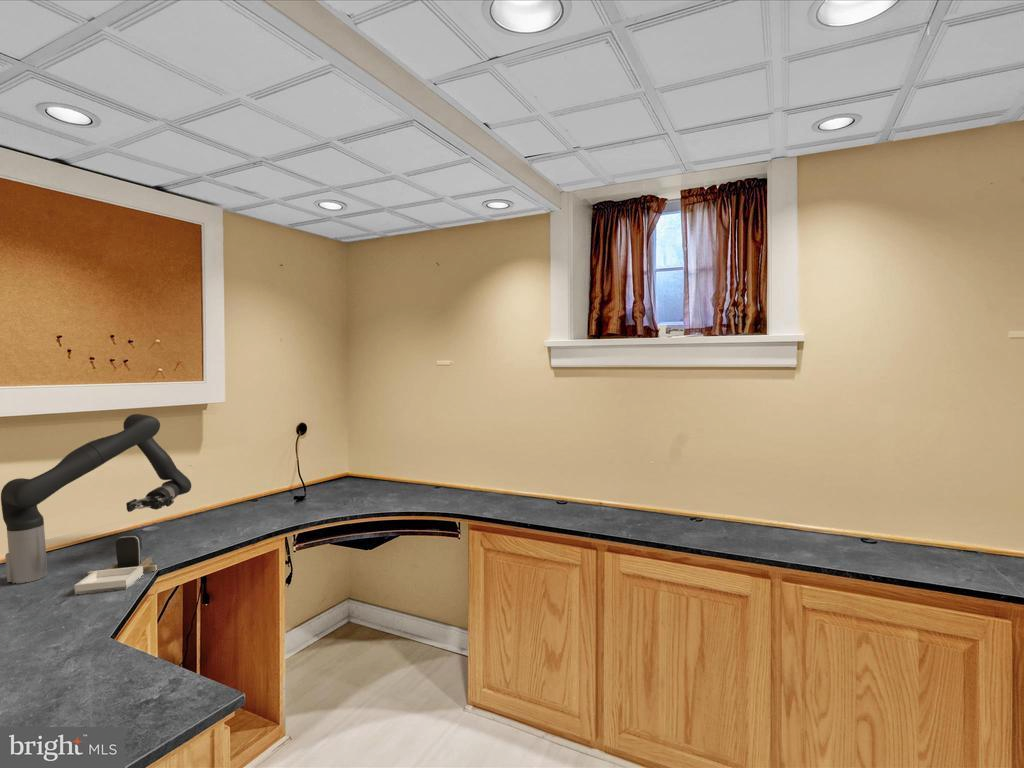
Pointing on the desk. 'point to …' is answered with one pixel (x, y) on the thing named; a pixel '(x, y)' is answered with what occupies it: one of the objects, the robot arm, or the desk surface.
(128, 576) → the tray
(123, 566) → the battery charger
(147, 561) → the dock
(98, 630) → the desk surface
